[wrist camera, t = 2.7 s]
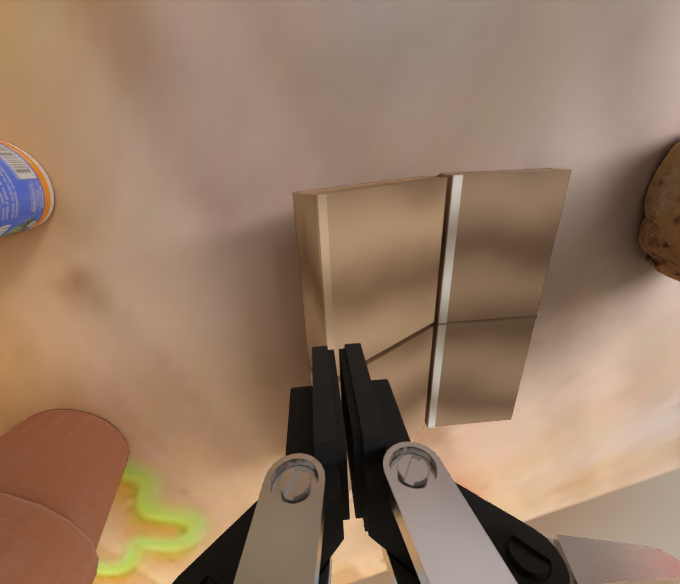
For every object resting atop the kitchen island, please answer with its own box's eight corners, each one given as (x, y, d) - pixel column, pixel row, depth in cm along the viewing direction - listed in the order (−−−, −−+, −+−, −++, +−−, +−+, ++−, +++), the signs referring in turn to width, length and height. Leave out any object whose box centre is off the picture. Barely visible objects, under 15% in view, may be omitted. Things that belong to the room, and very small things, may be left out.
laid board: (440, 173, 21) (452, 175, 19) (549, 168, 22) (572, 169, 20) (420, 410, 30) (427, 427, 28) (499, 403, 30) (511, 419, 28)
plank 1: (292, 192, 15) (316, 195, 14) (422, 176, 21) (448, 177, 19) (309, 366, 19) (328, 382, 18) (413, 313, 25) (434, 322, 24)
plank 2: (309, 371, 19) (329, 388, 18) (413, 317, 25) (434, 326, 24) (320, 482, 24) (336, 502, 22) (407, 414, 29) (424, 427, 28)
